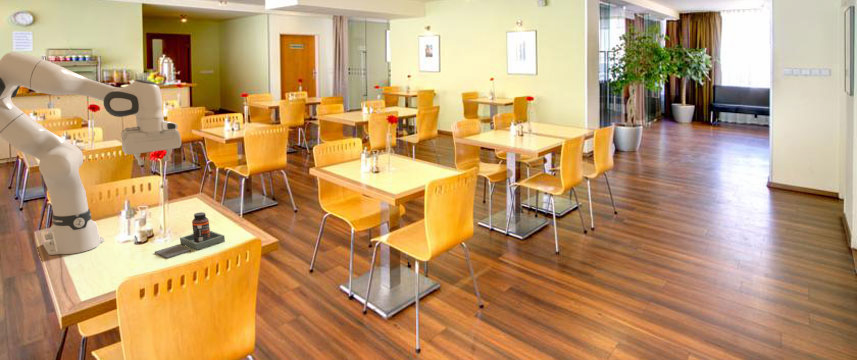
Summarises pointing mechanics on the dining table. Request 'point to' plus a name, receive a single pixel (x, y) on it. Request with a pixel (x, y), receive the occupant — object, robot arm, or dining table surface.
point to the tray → (213, 240)
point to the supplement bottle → (200, 227)
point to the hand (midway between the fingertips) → (154, 162)
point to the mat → (172, 251)
